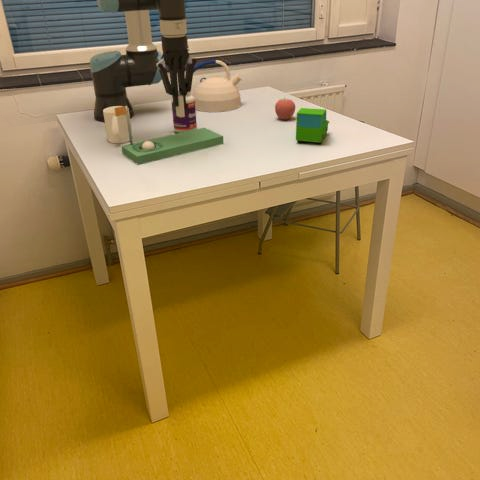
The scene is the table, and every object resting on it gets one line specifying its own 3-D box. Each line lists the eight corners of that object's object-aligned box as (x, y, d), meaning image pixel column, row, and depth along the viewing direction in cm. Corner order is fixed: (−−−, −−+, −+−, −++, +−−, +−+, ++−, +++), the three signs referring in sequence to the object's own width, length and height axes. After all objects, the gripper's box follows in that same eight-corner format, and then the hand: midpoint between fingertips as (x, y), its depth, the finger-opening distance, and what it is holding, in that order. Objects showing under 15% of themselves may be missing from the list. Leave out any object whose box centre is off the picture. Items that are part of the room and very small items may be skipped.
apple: (272, 121, 176) (272, 99, 172) (278, 115, 181) (278, 94, 177) (291, 122, 173) (292, 100, 169) (297, 117, 179) (297, 95, 175)
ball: (147, 157, 150) (137, 149, 147) (153, 146, 151) (143, 138, 148) (153, 156, 147) (143, 148, 144) (159, 145, 147) (149, 138, 145)
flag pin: (120, 146, 147) (114, 107, 141) (132, 144, 149) (126, 105, 143) (121, 147, 147) (115, 108, 141) (133, 144, 149) (127, 106, 143)
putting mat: (122, 153, 149) (121, 145, 148) (204, 134, 164) (204, 127, 162) (138, 164, 141) (137, 156, 139) (223, 143, 155) (223, 136, 154)
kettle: (242, 112, 188) (240, 63, 179) (189, 113, 188) (185, 65, 179) (242, 99, 205) (241, 54, 196) (194, 100, 206) (191, 56, 197)
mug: (129, 105, 160) (126, 114, 150) (133, 135, 165) (130, 146, 155) (104, 106, 159) (99, 116, 149) (109, 136, 165) (104, 147, 154)
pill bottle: (193, 134, 164) (190, 92, 157) (171, 134, 165) (166, 91, 158) (199, 127, 171) (196, 86, 163) (178, 127, 172) (174, 86, 165)
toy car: (331, 133, 161) (333, 104, 156) (324, 146, 151) (326, 114, 145) (301, 131, 164) (302, 102, 159) (292, 143, 154) (293, 112, 148)
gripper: (159, 39, 131) (167, 123, 144) (200, 34, 138) (204, 115, 150) (147, 35, 137) (156, 116, 149) (187, 31, 143) (192, 109, 155)
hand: (180, 115), depth 150 cm, fingers closed
